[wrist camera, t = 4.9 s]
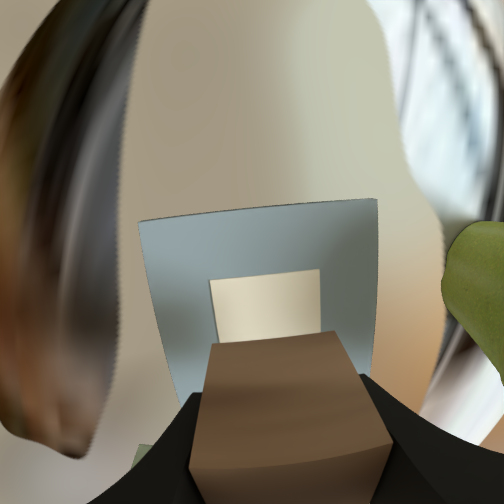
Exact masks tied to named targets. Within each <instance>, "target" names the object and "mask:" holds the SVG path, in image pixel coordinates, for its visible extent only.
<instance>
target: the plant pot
mask: <svg viewBox="0 0 504 504" xmlns="http://www.w3.org/2000/svg"><path fill="white" fill-rule="evenodd" d="M441 292H442V297H443V301H444V304H445V306H446V307H447V309H448V310H449V311H450V312H451V314H452V315H453V316H454V317H455V318H456V319H457V321H458V322H459V323H460V324H461V325H462V326H463V327H464V328H465V330H466V331H467V332H468V333H469V335H470V336H471V337H472V338H473V339H474V341H475V342H476V343H477V344H478V345H479V347H480V348H481V349H482V351H483V352H484V353H485V355H486V356H487V357H488V359H489V360H490V361H491V363H492V364H493V365H494V367H495V368H496V369H497V371H498V372H499V373H500V377H501V381H502V384H503V386H504V222H492V221H480V222H476V223H473V224H471V225H469V226H468V227H467V228H465V229H464V230H463V231H462V232H461V233H460V234H459V235H458V237H457V238H456V239H455V241H454V242H453V244H452V246H451V247H450V249H449V251H448V254H447V262H446V268H445V272H444V275H443V278H442V280H441Z"/></svg>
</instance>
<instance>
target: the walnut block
mask: <svg viewBox="0 0 504 504" xmlns="http://www.w3.org/2000/svg"><path fill="white" fill-rule="evenodd" d="M392 445H393V441H392V439H391V437H390V435H389V433H388V431H387V429H386V427H385V425H384V423H383V421H382V419H381V417H380V415H379V413H378V411H377V409H376V407H375V405H374V403H373V401H372V399H371V397H370V396H369V394H368V392H367V390H366V388H365V386H364V384H363V382H362V380H361V378H360V376H359V375H358V373H357V371H356V369H355V367H354V365H353V363H352V361H351V360H350V358H349V356H348V354H347V352H346V350H345V348H344V347H343V345H342V343H341V341H340V339H339V337H338V336H337V334H336V332H335V330H333V331H327V332H320V333H312V334H305V335H297V336H289V337H280V338H271V339H261V340H251V341H239V342H226V343H212V345H211V350H210V355H209V360H208V366H207V371H206V376H205V381H204V386H203V392H202V397H201V402H200V408H199V413H198V419H197V424H196V430H195V435H194V441H193V446H192V452H191V458H190V463H189V470H190V472H191V474H192V476H193V479H194V481H195V483H196V485H197V487H198V489H199V491H200V493H201V495H202V497H203V499H204V501H205V503H206V504H369V503H370V501H371V499H372V496H373V494H374V492H375V489H376V487H377V485H378V482H379V480H380V477H381V475H382V472H383V470H384V467H385V464H386V462H387V459H388V456H389V453H390V451H391V448H392Z"/></svg>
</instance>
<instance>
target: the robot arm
mask: <svg viewBox="0 0 504 504" xmlns="http://www.w3.org/2000/svg"><path fill="white" fill-rule="evenodd" d="M358 375H359V376H360V378H361V380H362V382H363V384H364V386H365V388H366V390H367V392H368V394H369V396H370V397H371V399H372V401H373V403H374V405H375V407H376V409H377V411H378V413H379V415H380V417H381V419H382V421H383V423H384V425H385V427H386V429H387V431H388V433H389V435H390V437H391V439H392V441H393V445H392V448H391V451H390V453H389V456H388V459H387V462H386V464H385V467H384V470H383V472H382V475H381V477H380V480H379V482H378V485H377V487H376V489H375V492H374V494H373V496H372V499H371V501H370V504H504V454H502V453H498V452H495V451H491V450H488V449H485V448H483V447H480V446H477V445H474V444H472V443H469V442H467V441H464V440H462V439H460V438H458V437H456V436H454V435H452V434H450V433H448V432H446V431H444V430H442V429H440V428H438V427H437V426H435V425H433V424H432V423H430V422H428V421H427V420H425V419H424V418H422V417H420V416H419V415H417V414H416V413H414V412H413V411H412V410H410V409H409V408H408V407H406V406H405V405H403V404H402V403H400V402H399V401H398V400H397V399H395V398H394V397H393V396H392V395H390V394H389V393H388V392H387V391H385V390H384V389H383V388H382V387H380V386H379V385H378V384H377V383H375V382H374V381H373V380H372V379H371V378H369V377H368V376H367V375H366V374H364V373H363V374H358ZM201 397H202V392H193V393H192V394H191V395H190V396H189V397H188V399H187V400H186V402H185V404H184V405H183V407H182V408H181V410H180V411H179V412H178V414H177V415H176V417H175V418H174V420H173V421H172V422H171V424H170V425H169V426H168V428H167V429H166V430H165V432H164V433H163V434H162V435H161V437H160V438H159V439H158V441H157V442H156V443H155V444H154V445H153V446H152V447H151V449H150V450H149V451H148V452H147V453H146V454H145V455H144V456H143V457H142V459H141V460H140V461H139V462H138V463H137V464H136V465H135V466H134V467H133V468H132V469H131V470H130V471H129V472H128V473H126V475H124V476H123V477H122V478H121V479H120V480H119V481H117V482H116V483H115V484H114V485H112V486H111V487H110V488H108V489H107V490H106V491H105V492H103V493H102V494H101V495H99V496H98V497H96V498H95V499H93V500H92V501H90V502H89V503H87V504H206V503H205V501H204V499H203V497H202V495H201V493H200V491H199V489H198V487H197V485H196V483H195V481H194V479H193V476H192V474H191V472H190V470H189V463H190V458H191V452H192V446H193V441H194V435H195V430H196V424H197V419H198V413H199V408H200V402H201Z"/></svg>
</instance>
